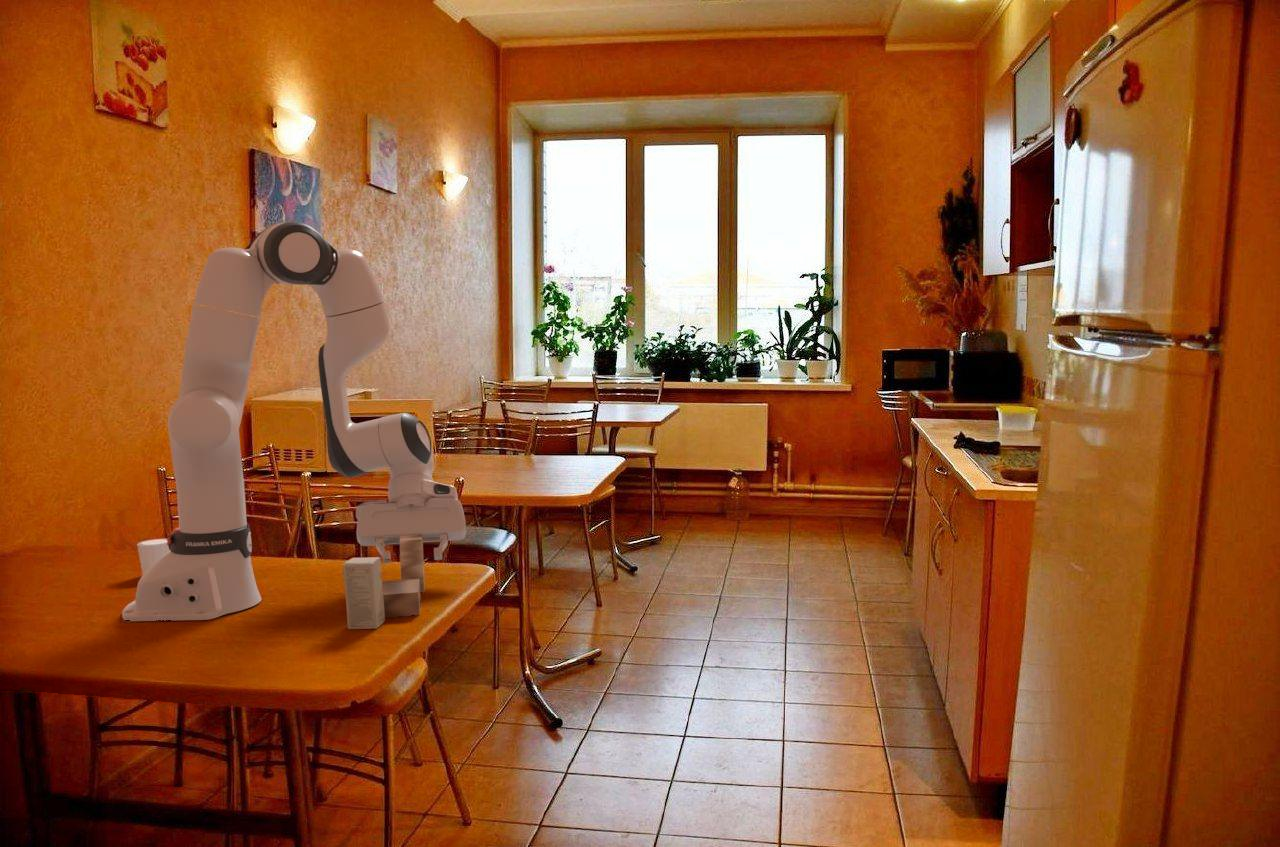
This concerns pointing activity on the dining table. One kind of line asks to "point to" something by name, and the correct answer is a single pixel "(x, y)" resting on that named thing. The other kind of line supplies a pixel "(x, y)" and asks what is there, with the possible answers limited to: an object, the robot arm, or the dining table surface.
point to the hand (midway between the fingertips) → (412, 560)
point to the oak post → (412, 558)
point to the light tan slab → (401, 597)
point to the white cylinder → (152, 552)
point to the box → (364, 593)
